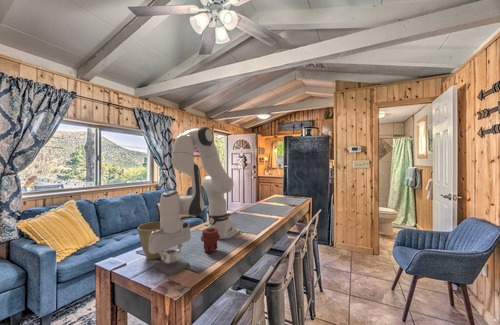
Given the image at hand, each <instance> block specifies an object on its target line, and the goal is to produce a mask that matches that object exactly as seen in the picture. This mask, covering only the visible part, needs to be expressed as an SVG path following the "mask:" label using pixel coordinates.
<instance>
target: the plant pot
mask: <svg viewBox="0 0 500 325" xmlns="http://www.w3.org/2000/svg"><path fill="white" fill-rule="evenodd" d="M157 230H160V221H152V222H151V221H150V222H146V223H142V224H140V225H138V227H137V231H138V232H137V233H138V237H139V241H140V245H141V248H142V251H143V253H144V255H145V257H146V259H147V260H156V259H159V258H160V259H161V255H160V254H159V253H156V254H152V253H150V252H149V251H148V247H149V235H150V234H151V233H152V232H154V231H157ZM151 235H152V234H151Z"/></svg>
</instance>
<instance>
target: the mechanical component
mask: <svg viewBox="0 0 500 325" xmlns="http://www.w3.org/2000/svg"><path fill="white" fill-rule="evenodd" d="M208 227H209V226H208ZM208 227H206V228H205V229H203V230H202V232H201V233H202V235H201V236H200V241H201V242H202V243H203V249H204V253H205V254H208V253H212V254H214V253H216V252H217V249H218V242H219V240H221V239H220V235H219V234H218V229H216V228H213V227H209V228H208Z"/></svg>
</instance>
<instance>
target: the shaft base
mask: <svg viewBox="0 0 500 325" xmlns="http://www.w3.org/2000/svg"><path fill="white" fill-rule="evenodd" d="M190 266H191V262H189V261H186V260H184V259H181V258H180V257H178V260H177V261H176V262H174V263H165V262H164V260H160V261H158V262H156V263H154V264H153V268H154V269H157V270H159V271H161V272H163V273H165V274H167V275H169V276H173V275H175V274H177V273H179V272H181V271H183V270H185V269H187V268H188V267H190Z"/></svg>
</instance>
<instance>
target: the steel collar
mask: <svg viewBox="0 0 500 325" xmlns="http://www.w3.org/2000/svg"><path fill="white" fill-rule="evenodd" d="M163 254H164V255H166V259H165V260H164V262H165V263H174V262H176V261H177V260H178V258H179V254H178V249H177V248H169V249H166V250H164V253H163Z"/></svg>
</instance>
